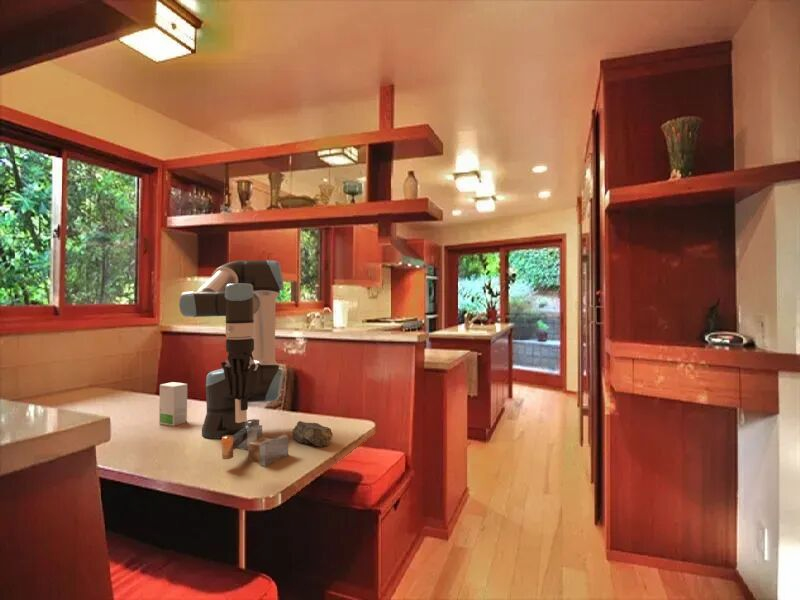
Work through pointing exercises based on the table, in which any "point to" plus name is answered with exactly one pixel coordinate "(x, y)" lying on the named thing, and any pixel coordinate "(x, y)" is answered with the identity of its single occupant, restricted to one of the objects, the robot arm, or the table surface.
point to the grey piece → (270, 449)
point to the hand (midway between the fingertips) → (241, 421)
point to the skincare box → (173, 404)
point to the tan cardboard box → (256, 449)
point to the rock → (312, 434)
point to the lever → (241, 437)
